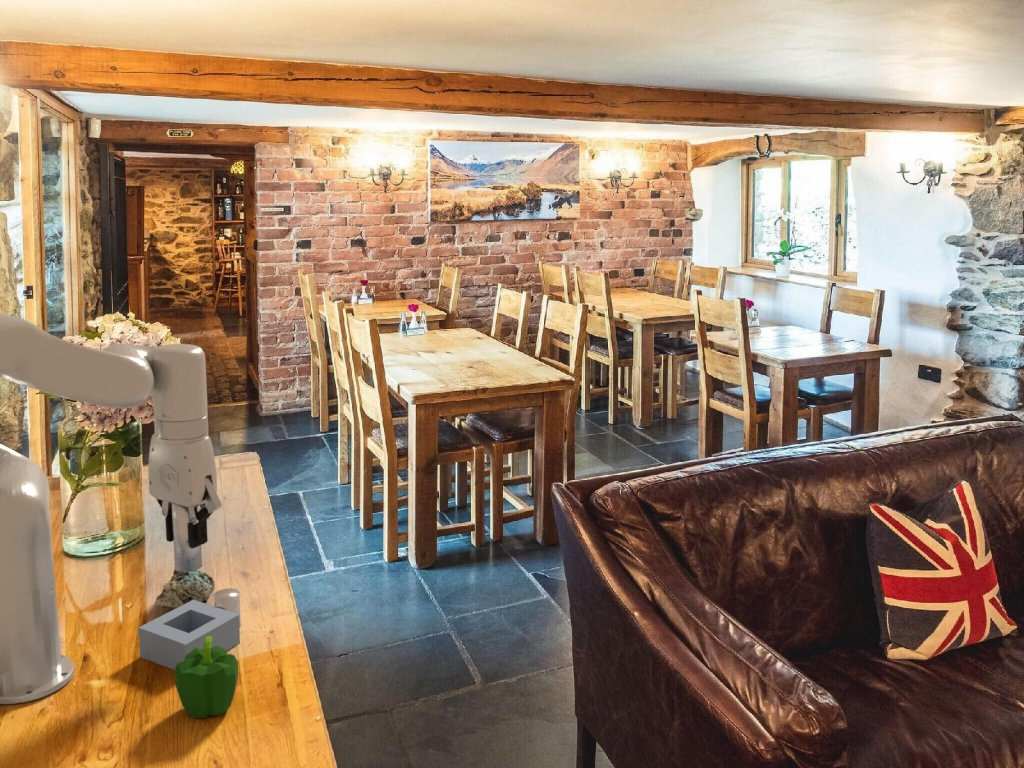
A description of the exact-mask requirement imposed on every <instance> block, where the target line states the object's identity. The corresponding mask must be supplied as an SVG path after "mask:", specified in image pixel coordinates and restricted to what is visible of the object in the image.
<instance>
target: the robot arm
mask: <svg viewBox="0 0 1024 768" xmlns="http://www.w3.org/2000/svg"><path fill="white" fill-rule="evenodd" d="M206 362H207V361H206V354H205V352H204V350H203V348H201V347H200V346H198V345H195V344H189V343H174V344H173V343H171V344H164V345H159V346H157V345H156V346H155V345H143V344H142V345H139V344H129V343H116V344H112V345H109V346H106V347H104V348H103V349H96V348H92V347H88V346H85V345H80V344H77V343H74V342H71V341H68V340H65V339H62V338H59V337H57V336H55V335H53V334H51V333H49V332H47V331H45V330H44V329H42V328H40V327H39V326H37V325H36V324H34V323H33V322H30V321H28V320H25V319H23V318H21V317H17V316H14V315H13V316H12V315H8V314H5V313H0V379H3V380H6V381H9V382H12V383H14V384H16V385H20V386H23V387H27V388H30V389H33V390H37V391H40V392H42V393H46V394H49V395H53V396H55V397H59V398H62V399H68V400H71V401H76V402H80V403H85V404H90V405H96V406H101V407H107V408H112V409H119V410H120V409H121V410H122V409H131V408H134V407H137V406H139V405H141V404H142V403H144V402H145V401H146V400H147V399H148V398H149V397H150V396H151V394H152V400H153V401H152V404H153V420H152V421H153V423H154V425H153V426H154V433H153V434H152V435H151V439H150V445H149V452H148V471H147V474H148V476H147V477H148V479H147V480H148V492H149V494H150V496H152V497H153V499H154V498H155V499H156V501H157V503H158V505H159V506H160V508H161V515H162V516H164V517H165V518H164V519H165V535H166V536H165V539H166V542H170V543H172V542H174V541H173V521H172V503H174V504H178V505H182V506H186V507H188V509H189V514H190V519H191V523H189V524H188V539H189V547H190V548H196V547H198V546H200V545H201V546H202V545H204V544H206V543H207V542H208V539H209V538H208V520H209V519H211V516H212V514H213V513H214V512H216V511H217V510H220V508H222V507H223V503H222V501H221V500H220V497H219V496H218V477H217V468H216V465H217V464H216V460H215V453H214V448H213V443H212V440H211V437H210V436H209V417H208V412H209V411H208V390H207V367H206V366H207V363H206ZM49 482H50V481H49V478H48V476H47V474H46V471H44V469H43V468H42V467H41V466H40V465H39V464H37V462H35V461H33V460H32V459H31V458H29V457H27V456H25V455H23V454H21V453H19V452H17V451H15V450H13V449H12V448H10V447H7V446H6V445H4V444H2V443H0V705H14V704H21V703H22V704H23V703H26V702H27V703H28V702H31V701H32V702H33V701H36V700H39V699H41V698H44V697H47V696H49V695H51V694H53V693H54V692H56V691H59V690H60V689H62V688H63V687H64V686H66V684H68V683H69V682H70V680H71V679H72V678H73V676H74V673H75V664H74V662H73V660H72V659H71V658H70V657H68V656H67V655H64V654H62V650H61V639H60V638H61V637H60V625H59V614H58V613H59V612H58V611H59V610H58V601H57V589H56V577H55V575H56V574H55V567H54V554H53V543H52V542H53V541H52V530H51V523H52V522H51V507H50V506H51V505H50V504H51V501H50V500H51V495H50V483H49ZM199 505H200V510H199V512H197V506H199Z"/></svg>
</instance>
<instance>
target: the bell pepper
mask: <svg viewBox="0 0 1024 768" xmlns="http://www.w3.org/2000/svg"><path fill="white" fill-rule="evenodd" d="M211 642H212V637H211V636H207V637H206V638H205V641H204V648H203V649H202V648H194V649H193V650H192V651H191V652H189V653H188V654H187V655H186V657H185V660H184V661H181V662H179V663H177V666H176V668H175V670H173V672H174V685H175V688H176V691H177V694H178V697H179V700H180V702H181V704H182V707H183V709H184V712H185V713H186V714H187V715H189V716H190V717H192V718H195V719H203V718H206V717H208V716H209V715H210V716H219V715H222V714H224V713H225V712H226V711H228V710H229V708H230V707H231V705H232V702H233V700H234V696H235V692H236V688H237V684H238V678H239V661H238V660H237V658H236V656H235V655H234V654H233V653H228V652H227V651H226V650H224V649H223V648H221V647H220V646H219V645H217V646H214V647H211Z"/></svg>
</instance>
